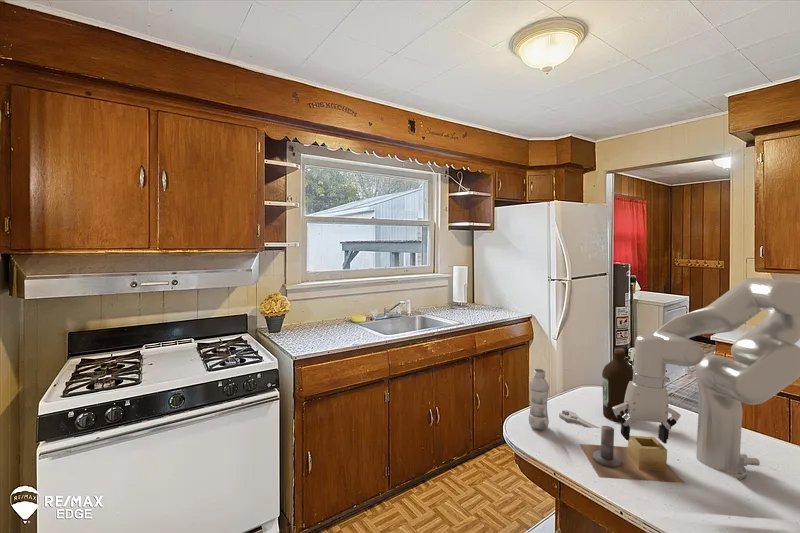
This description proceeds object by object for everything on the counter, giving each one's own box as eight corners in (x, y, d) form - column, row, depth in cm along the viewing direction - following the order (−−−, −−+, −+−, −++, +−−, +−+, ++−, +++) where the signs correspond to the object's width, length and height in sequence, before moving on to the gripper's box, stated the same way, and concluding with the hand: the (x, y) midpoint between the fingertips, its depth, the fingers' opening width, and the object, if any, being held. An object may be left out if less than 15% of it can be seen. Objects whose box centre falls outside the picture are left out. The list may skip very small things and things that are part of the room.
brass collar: (653, 457, 114) (654, 437, 114) (666, 471, 107) (667, 449, 107) (627, 455, 115) (628, 435, 115) (638, 469, 108) (639, 448, 108)
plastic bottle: (536, 433, 131) (537, 375, 130) (524, 424, 138) (525, 368, 136) (552, 430, 133) (554, 373, 132) (540, 422, 140) (541, 366, 138)
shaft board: (652, 453, 119) (653, 417, 118) (684, 488, 102) (686, 447, 101) (578, 448, 122) (579, 414, 121) (598, 482, 105) (600, 442, 104)
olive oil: (631, 412, 146) (633, 346, 145) (637, 425, 136) (639, 354, 135) (599, 408, 150) (601, 344, 148) (603, 421, 140) (605, 351, 138)
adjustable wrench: (629, 446, 124) (630, 440, 124) (615, 450, 122) (615, 445, 122) (567, 413, 147) (568, 408, 147) (554, 416, 145) (554, 411, 145)
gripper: (674, 377, 112) (669, 435, 113) (610, 373, 114) (606, 430, 116) (690, 387, 105) (684, 449, 106) (620, 382, 107) (616, 443, 108)
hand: (643, 439), depth 111 cm, fingers open, 9 cm apart
